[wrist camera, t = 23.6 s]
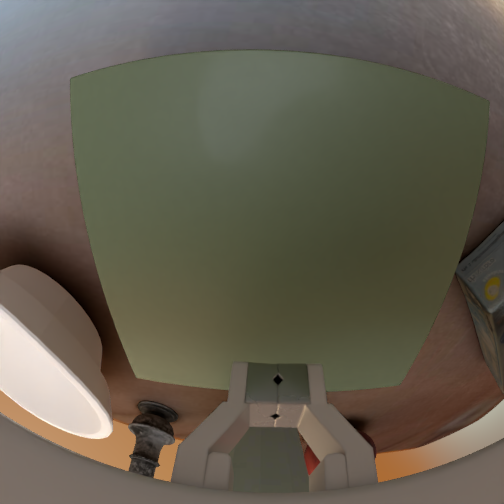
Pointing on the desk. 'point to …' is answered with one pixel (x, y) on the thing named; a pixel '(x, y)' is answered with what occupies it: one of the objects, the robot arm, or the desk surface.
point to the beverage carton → (487, 298)
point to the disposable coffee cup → (269, 461)
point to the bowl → (51, 354)
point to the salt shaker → (150, 436)
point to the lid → (274, 209)
